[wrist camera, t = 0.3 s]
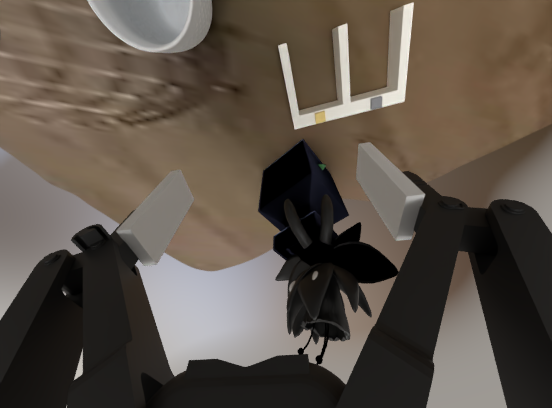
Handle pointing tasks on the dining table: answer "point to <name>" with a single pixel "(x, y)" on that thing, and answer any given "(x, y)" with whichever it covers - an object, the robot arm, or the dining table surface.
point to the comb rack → (344, 102)
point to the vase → (317, 247)
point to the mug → (156, 22)
